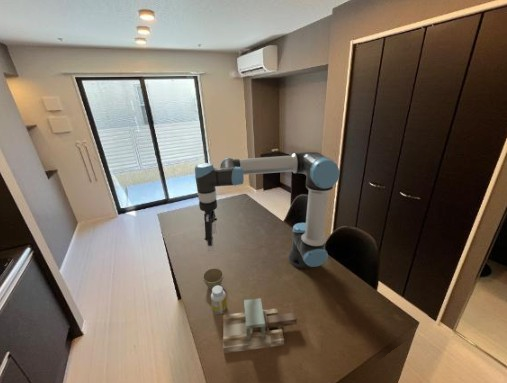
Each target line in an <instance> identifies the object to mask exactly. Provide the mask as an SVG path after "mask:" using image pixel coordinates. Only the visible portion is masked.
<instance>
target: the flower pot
mask: <svg viewBox="0 0 507 383" xmlns="http://www.w3.org/2000/svg"><path fill="white" fill-rule="evenodd" d="M202 279H203V282H204V284H205V285H206V287H207V288H209V289H210V290H212V289H213V287H215V286H218V285H219V286H221V284H222V282H223V279H224V271H222V270H221V269H220V268H210V269H207V270H205V272H204V273H203V275H202Z"/></svg>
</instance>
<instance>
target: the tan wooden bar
mask: <svg viewBox="0 0 507 383" xmlns="http://www.w3.org/2000/svg"><path fill="white" fill-rule="evenodd" d="M263 314H264V320H265V331H268V328H270V329H271V328H277V327H280V326H281V327H287V326H294V325H297V321H298V320H297V316H296V313H295V312H289V313H283V314H278V315H272V316H266V311H263ZM252 331H253V332H260V331H261V327H256V328H252Z"/></svg>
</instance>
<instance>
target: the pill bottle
mask: <svg viewBox="0 0 507 383" xmlns="http://www.w3.org/2000/svg"><path fill="white" fill-rule="evenodd" d="M226 294H227V293H226V292H225V291H224V289H223V286H221V285H220V286H219V285H218V286H215V287H213V289H211V294H210V301H211V302H210V303H211V309H212V311H213V313H214V314H216V315H221V314H223V313H225V312H226V310H227V307H228V305H227V297H226V296H227V295H226Z"/></svg>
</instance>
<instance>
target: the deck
mask: <svg viewBox="0 0 507 383" xmlns="http://www.w3.org/2000/svg"><path fill="white" fill-rule="evenodd" d="M243 306H244V307H243V308H244V311H243V312H237V313H235V312H234V313H227V314H223V317H222V319H223V320H222V321H223V325H222V326H223V331H222V332H223V335H222V342H223V344H222V346H223V347H222V348H223V353H224V354H227V353H229V354H230V353H236V352H242V351H243V352H244V351H250V350H256V349H257V350H258V349H265V348H271V347H279V346H280V347H281V346H284V345H285V338H284V335H283V329H282V326H280V327H276V329H272V330H270V329H269V328H268V331H265V320H264V314H263V311H266V316H272V315H279V310H278V309H277V308H270V309H269V308H268V309H263V304H262V298H260V297H259V298H252V299H244V300H243ZM256 327H261V331H260V332H253V331H252V328H256Z"/></svg>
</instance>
